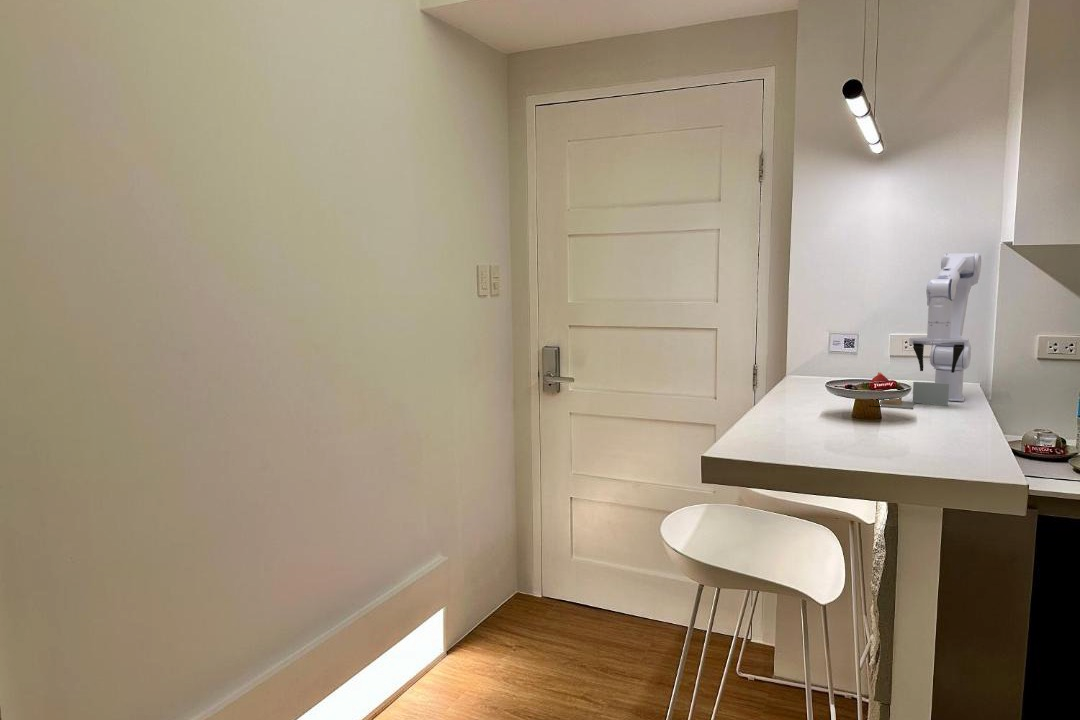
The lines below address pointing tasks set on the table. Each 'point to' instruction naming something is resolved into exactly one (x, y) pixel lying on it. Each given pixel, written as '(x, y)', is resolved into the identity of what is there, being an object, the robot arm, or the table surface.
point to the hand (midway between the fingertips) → (937, 371)
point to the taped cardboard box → (893, 401)
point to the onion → (879, 377)
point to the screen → (930, 393)
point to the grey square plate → (903, 405)
